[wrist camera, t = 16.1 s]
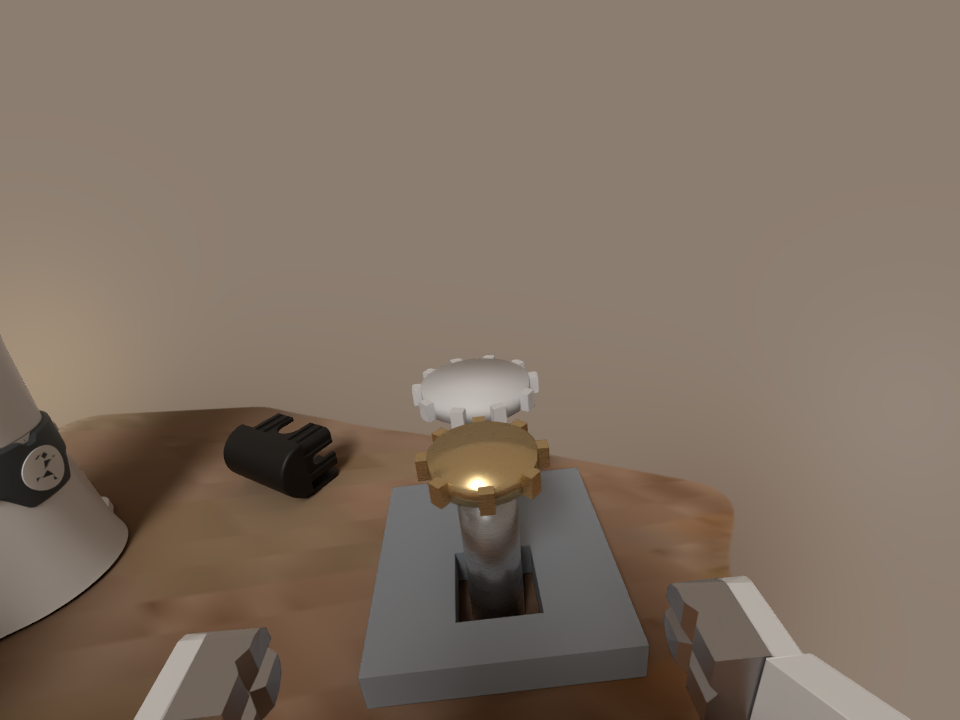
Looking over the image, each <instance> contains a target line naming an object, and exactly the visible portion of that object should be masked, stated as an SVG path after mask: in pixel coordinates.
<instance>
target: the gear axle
mask: <svg viewBox="0 0 960 720" xmlns="http://www.w3.org/2000/svg"><path fill="white" fill-rule="evenodd" d="M432 439H433V443H432V444H431V446H430V447H429V449H428V452H425V453H416V458H415V465H416V470H417V476H418V481H426V480H429V479H430V482H428V487H429V493H430V499H431V503H432V504H433V505H435V506H437V507H438V508H440V509H443V508H444V507H446V506H447V505H448V504H449V503H453V504H456V505H457V507H458V514H459V521H460V528H461V536H462V543H463V550H464V557H465V564H466V571H467V579H468V586H469V593H470V600H471V607H472V614H473V619H474V621H476V620H484V619H493V618H502V617H511V616H519V615H525V602H524V588H523V574H522V561H521V547H520V534H519V520H518V506H517V498H518V497H520V496H521V495H524V496H526V497H528V498H530V499H532V500H533V499H534V498H535V497H536V496H537V495H538V494H539V493H540V492H541V471H540V470H538V467H539V468H547V467H550V462H549V446H548V443H547V440H537V441H536V442H535V440H534V438H533V437H532V436H531V435H530V434H529V433H528V428H527V423H525V422H523V421H520V420H515V421H514V422H513V423H511V424H508V423H504V422H495V421H485V416H480V417H472V423H468V424H464V425H461V426H458V427H455V428H453V429H451V430H449V431H448V430H446V429H444V428H439V429H438V430H436V431H435V432H433V433H432Z"/></svg>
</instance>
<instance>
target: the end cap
mask: <svg viewBox="0 0 960 720" xmlns="http://www.w3.org/2000/svg"><path fill="white" fill-rule="evenodd" d="M293 421H294V420H293V417H289V416H286V415H282V414H279V413H278V414H276V415H274V416H273V417H271V418H269V419H267V420H266V421H264V422H262V423H260V424H259V425H257V426H255V427H253V428H252V427H249V426H246V425H243V424H242V425H240V426H239V427H237V428H236V429H235V430H234V431H233V432H232V433H231V435H230V436H229V437H228V439H227V441H226V444H225V447H224V460H225V463H226V465H227V467H228V468H229V469H230V470H231V471H233V472H234V473H237V474H239V475H241V476H244V477H246V478H248V479H251V480H253V481H255V482H258V483H260V484H262V485H265V486H267V487H269V488H272V489H274V490H276V491H279V492H281V493H283V494H286V495H288V496H291V497H294V498H308V497H310V496H312V495H314V494H315V493H317V492H318V491H319V490H320V489H322V488H323V487H324V486H325V485H327V484H328V483H329V482H331V481H332V480H333V479H334V478H336V477H337V476H338V470H337V469H336V468H333V466H334V465H335V464H337V458H336V454H335V452H334V451H332V452H330V453H329V454H328V455H326V456H325V457H322V456H317V457H316V458H314V459H313V457H314V455H315V454H316V453H318V452H319V451H321V450H322V449H323V448H325V447H326V446H328V445H329V444H331V443H332V438H331V434H330V432H329V430H328V429H327V428H326V427H323V426H319V425H316V424H313V423H309V424H307V425H305V426H304V427H302V428H301V429H299V430H297V431H295V432H292V433H287V434H281V433H278V432H279V430H280V429H281V428H283V427H284V426H286V425H288V424H289V423H291V422H293Z"/></svg>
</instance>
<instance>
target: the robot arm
mask: <svg viewBox="0 0 960 720" xmlns="http://www.w3.org/2000/svg"><path fill="white" fill-rule="evenodd" d="M58 430H59V429H58V427H57V426H56V424H55V423H54V422H52V420H51V418H50V417H49V415H48V414H47V413H46V412H43V411H40V410H39V409H38V408H37V406H36V404H35V402H34V400H33V398H32V396H31V395H30V393H29V391H28V389H27V387H26V385H25V383H24V381H23V379H22V377H21V376H20V374H19V372H18V370H17V368H16V366H15V364H14V362H13V360H12V358H11V356H10V354H9V352H8V350H7V349H6V347H5V345H4V343H3V341H2V338H1V335H0V638H2V637H4V636H6V635H8V634H11V633H13V632H15V631H17V630H19V629H21V628H23V627H25V626H28V625H29V624H31V623H33V622H35V621H37V620H39V619H41V618H43V617H45V616H46V615H48V614H50V613H52V612H53V611H55V610H56V609H58V608H60V607H61V606H63V605H64V604H66V603H67V602H69V601H70V600H72V599H73V598H75V597H76V596H77V595H79V594H80V593H81V592H83V591H84V590H85V589H87V588H88V587H89V586H90V585H91V584H93V583H94V582H95V581H96V580H97V579H98V578H99V577H101V576H102V575H103V574H104V573H105V572H106V571H107V570H108V569H109V567H110V566H111V565H112V564H113V563H114V562H115V560H116V559H117V558H118V556H119V555H120V554H121V552H122V550H123V549H124V547H125V545H126V542H127V539H128V528H127V526H126V524H125V523H124V522H123V521H122V520H121V519H120V518H119V517H117V516H116V515H115V514H114V513H113V504H112V503H111V501H110V500H109V499H108V498H107V497H101V496H100V495H99V493H98V492H97V491H96V489H95V488H94V486H93V485H92V484H91V482H90V481H89V480H88V478H87V477H86V476H85V474H84V473H83V471H82V470H81V469H80V467H79V466H78V465H77V463H76V462H75V461H74V459H73V458H72V457H71V456H70V455H69V454H68V453H67V452H66V445H65V443H64V441H63V439H62V437H61V435H60V434H59V432H58ZM666 597H667V599H668V601H669V603H670V605H671V606H670V607H669V608H668V609H667V610H666V611H665V614H664V628H665V634H666V639H667V642H668V646H669V649H670V651H671V654H672V656H673V658H674V661H675V663H676V664H677V665H678V666H679V667H681V668H682V669H683V670H684V671H685V672H687V673H688V677H687V684H686V688H687V690H688V693H689V695H690V697H691V699H692V702H693V704H694V706H695V708H696V711H697V713H698V715H699V717H700V720H911V719H909V718H907V717H906V716H905V715H903V714H902V713H900V712H899V711H897V710H896V709H894V708H893V707H891V706H890V705H888V704H887V703H885V702H884V701H882V700H881V699H879V698H878V697H876V696H875V695H873V694H872V693H870V692H869V691H867V690H866V689H864V688H863V687H861V686H860V685H858V684H857V683H855V682H854V681H852V680H851V679H849V678H848V677H846V676H845V675H843V674H842V673H840V672H839V671H837V670H835V669H834V668H833V667H831V666H830V665H828V664H827V663H825V662H824V661H822V660H821V659H819V658H817V657H816V656H815V655H813V654H812V653H808V654H803V653H802V651H801V650H800V648H799V647H798V646H797V644H796V643H795V641H794V640H793V639H792V637H791V636H790V634H789V633H788V632H787V630H786V629H785V627H784V626H783V625H782V623H781V622H780V620H779V619H778V618H777V616H776V615H775V613H774V612H773V611H772V609H771V608H770V606H769V605H768V604H767V602H766V601H765V599H764V598H763V597H762V595H761V594H760V592H759V591H758V590H757V588H756V587H755V585H754V584H753V583H752V581H751V580H750V579H749V578H747V577H746V576H736V577H727V578H719V579H718V578H712V579H704V580H696V581H687V582H679V583H671V584H670V585H669V586H668V589H667V596H666ZM270 640H271V637H270V635H269V633H268V630H267V628H266V627H264V628H252V629H239V630H227V631H213V632H203V633H192V634H186V635H185V636H184V637H183V638H182V639H181V640H179V641H178V643H177V644H176V646H175V648H174V649H173V651H172V653H171V655H170V656H169V658H168V660H167V662H166V663H165V665H164V667H163V669H162V670H161V672H160V674H159V676H158V677H157V679H156V681H155V683H154V684H153V686H152V688H151V690H150V691H149V693H148V695H147V697H146V699H145V700H144V702H143V704H142V706H141V707H140V709H139V711H138V713H137V714H136V716H135V718H134V720H263V719H264V718H265V717H266V715H267V714H268V713H269V712H270V711H271V710H272V709H273V708H274V706H275V702H276V699H277V696H278V693H279V688H280V680H281V665H280V660H279V657H278V654H277V653H276V652H274V651H273V650H271V649H270V648H268V645H269V643H270Z"/></svg>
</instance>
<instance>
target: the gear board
mask: <svg viewBox="0 0 960 720" xmlns="http://www.w3.org/2000/svg"><path fill="white" fill-rule="evenodd" d="M423 379H424V380H423V382H422V384H413V387H412V394H413V400H414V405H415V406H418V405H419V406H420V413H421V418H422V419H423V420H425V421H426V422H431V421H433V420H435V419H437V420H440V421H442V422H446V423H450V424H451V427H452V429H453V428H455V427H458V426H461V425H464V424H468V423H472V417H480V416H485V421H495V422H504V423H507V417H510V416H512V415H514V414H515V413H517V412H519V411H520V410H522V411H527V412H529V411H530V410H531V409H532V408H533V407H534V393H538V391H539V390H538V376H537V373H536V372H528V373H527V371H526V370H525V369H524V362H523V361H520V360H517V359H515V360H513V361H511V362H509V361H505V360H500V359H495V356H493V355H484V357H483V358H482V359H471V360H470V359H469V360H462V359H461V358H458V359H453V360H450V364H448V365H445V366H442V367H440V368H438V369H431V368H429V369H428V370H426V371H425V372H423ZM517 506H518V520H519V534H520V547H521V561H522V574H523V573H532V576H533V581H534V586H535V591H536V597H537V602H538V607H539V612H540V613H537V614H528V615H519V616H511V617H502V618H493V619H484V620H476V621H467V622H460V617H459V581H461V580H468V579H467V571H466V564H465V557H464V550H463V543H462V536H461V528H460V521H459V514H458V507H457V505H456V504H453V503H449V504H448V505H447V506H446V507H444V508H443V509H440V508H438V507H437V506H435V505H433V504H432V503H431V499H430V493H429V487H428V484H422V485H413V486H404V487H394V488H392V493H391V498H390V504H389V509H388V515H387V520H386V526H385V532H384V537H383V543H382V548H381V554H380V559H379V565H378V571H377V576H376V582H375V587H374V593H373V598H372V604H371V609H370V615H369V621H368V626H367V632H366V637H365V643H364V648H363V654H362V660H361V665H360V671H359V676H358V680H359V684H360V687H361V690H362V693H363V697H364V700H365V703H366V706H367V709H370V708H378V707H387V706H395V705H404V704H413V703H421V702H430V701H438V700H447V699H456V698H464V697H473V696H481V695H490V694H499V693H507V692H516V691H524V690H533V689H542V688H550V687H559V686H567V685H576V684H585V683H593V682H602V681H610V680H619V679H628V678H636V677H645V676H647V665H648V653H649V644H648V641H647V639H646V636H645V634H644V631H643V629H642V626H641V624H640V622H639V619H638V617H637V614H636V612H635V609H634V607H633V604H632V602H631V599H630V597H629V594H628V592H627V589H626V587H625V584H624V582H623V580H622V577H621V575H620V572H619V570H618V567H617V565H616V562H615V560H614V557H613V555H612V552H611V550H610V547H609V545H608V543H607V540H606V538H605V535H604V533H603V530H602V528H601V525H600V523H599V520H598V518H597V515H596V513H595V510H594V508H593V506H592V503H591V501H590V498H589V496H588V493H587V491H586V488H585V486H584V483H583V481H582V478H581V476H580V473H579V471H578V469H577V468H568V469H559V470H550V471H541V492H540V493H539V494H538V495H537V496H536V497H535V498H534V499H533V500H532V499H530V498H528V497H526V496H524V495H521V496H520V497H518V498H517Z"/></svg>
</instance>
